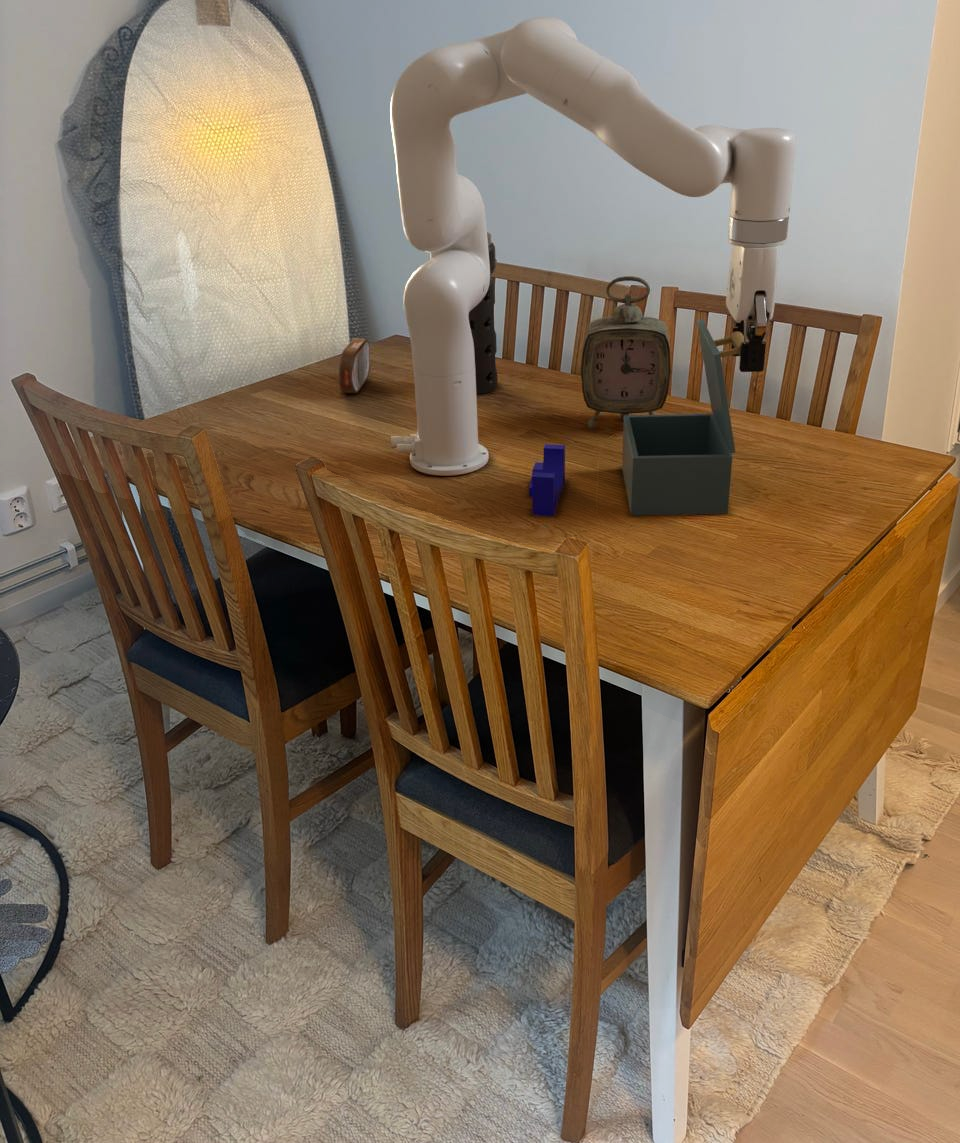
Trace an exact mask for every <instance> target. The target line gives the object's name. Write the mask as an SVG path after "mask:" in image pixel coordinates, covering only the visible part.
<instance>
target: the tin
mask: <svg viewBox="0 0 960 1143" xmlns="http://www.w3.org/2000/svg"><path fill="white" fill-rule="evenodd" d="M370 348H371V345H370V342H369V340H368V339H367V338H359V337H353V338H352V339H351V341H349V343H348V344H347V345H346V346H345V347H344V349H343V350H342V352H341V355H340V360H339V370H338V381H339V382H338V383H339V388H340V391H341V393H342V394H357V393H358V392H359V391H360V390H361V389H362V387H363V386H364V385H365V383H366V382H367V380H368V378H369V374H370V369H371V359H370V356H371V355H370V353H371V352H370V350H371V349H370Z"/></svg>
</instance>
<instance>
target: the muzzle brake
mask: <svg viewBox="0 0 960 1143" xmlns="http://www.w3.org/2000/svg"><path fill="white" fill-rule="evenodd" d="M487 239H488V251H489V263H490V283H489V288H488V291H487V293H486V295H485V297H484V298H483V299H482V301H481V302H480V303H479V304H478V305H477V306H475V307H474V308H473V309H472V310H471V311H470V312H469V324H470V329H471V333H472V337H473V343H474V354H475V373H476V396H480V395H487V394H491V393H492V392H494V391H496V390H497V388H498V387H499V383H498V369H497V364H496V353H497V351H498V348H497V347H498V346H497V332H496V330H495V308H494V307H495V304H496V286H495V285H496V284H495V279H494V278H493V277H492V276H493V273H494V272H495V270H496V268H497V267H496V266H497V262H496V246H495V244H494V242H492V234H491V233H490V232H488V231H487Z"/></svg>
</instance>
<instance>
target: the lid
mask: <svg viewBox="0 0 960 1143" xmlns="http://www.w3.org/2000/svg"><path fill="white" fill-rule="evenodd" d="M696 324H697V328H698V329H697V330H698V336H699V341H700V348H701V353H702V359H703V360H702V361H703V365H704V372H705V377H706V378H705V379H706V384H707V389H708V395H709V402H710V408H711V412H712V414H713V415H714V417H715V419H716V422H717V424H718V427H719V429H720V431H721V434H722V436H723V438H724V441H725V443H726V445H727V448H728V450H729V453H730V454H735V453H736V445H735V440H734V433H733V427H732V426H733V425H732V419H731V414H730V407H729V402H728V395H727V388H726V380H725V376H724V369H723V363H722V358H726V357H730V356H732V355H735V354H738V355H739V356H738V357H740V353H741V342H744V336H743V335H742V333H741V332H739V331H736V332H733V331H732V333H731V334H730V336H728V337H723V338H720V339H713V336H712V334H711V332H710V331H709V329H708V327H707V324H706V323H705V321H704V318H703V317H701V318H698V319H696ZM729 344H731V345H732V344H733V346H734V348H733V349H731V348H729V349H725V350H721V351H719V348H718V347H721V346H725V345H729Z"/></svg>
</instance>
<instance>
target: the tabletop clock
mask: <svg viewBox="0 0 960 1143" xmlns="http://www.w3.org/2000/svg"><path fill="white" fill-rule="evenodd" d="M619 282H638V283H640V284H642V285H643V286H645V288H646V293H645V294H644V295H642V296H640V297H636V298H634V297H633V298H632V294H631V293H626V294H625V295H624V298H620V297H616V296H614V295H612V294H611V293H610V289H611V287H612V286H614V284H617V283H619ZM605 292H606V295H607V297H608V298H609V299H610V300H611V301H613V302H617V303H619V304H620V305H617V306H616V307H615V308H614V310H613V311H612V314H611V316H603V317H598V318H595V319H593V320H592V321H590V322H589V324H588V326H587V328H586V332H585V337H584V341H583V347H582V356H581V365H580V376H581V377H580V378H581V391H582V396H583V400H584V402H585V405H586V407H587V408H588V409H590V410H593V411H595V412H594V413H593V414H594V415H593V417H592V418H590V419H589V420H587V427H588V428H589V429H595V428H596V427H597V425H598V423H597V418H598V417H599V415H600V413H609V414H619V418H620V419H621V420H624V415H630V414H644V413H645V414H646V413H648V415H655V413H654V412H655V411H658V410H661V409H663V407H664V405H665V403H666V401H667V397H668V393H669V388H670V381H671V374H672V373H671V371H672V370H671V368H672V367H671V365H672V364H671V345H670V336H669V330H668V327H667V324H666V322H665V321H664V320H661V319H659V318H655V317H651V316H644V315H643V312H642V310H641V308H640V307H639V306H638V305H636V304H635V303H639V302H642V301H644V300H645V299H647V298H648V297H649V295H650V293H651V287H650V285H649V283H648V282H647V281H646V279H643V278H641V277H638V276H632V275H630V276H619V277H616V278H614V279H612V280H611V281H610V282H609V283H608V285H607V286H606V290H605Z"/></svg>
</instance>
